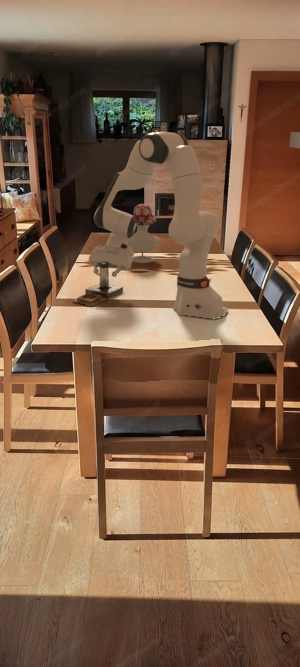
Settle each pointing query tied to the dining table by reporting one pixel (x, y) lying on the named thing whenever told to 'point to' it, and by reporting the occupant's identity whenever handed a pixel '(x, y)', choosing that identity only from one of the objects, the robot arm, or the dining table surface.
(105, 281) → the lidded glass canister
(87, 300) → the square wooden tray
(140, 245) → the beige curvy piece
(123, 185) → the robot arm
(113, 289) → the socket block
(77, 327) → the dining table surface
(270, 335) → the dining table surface
